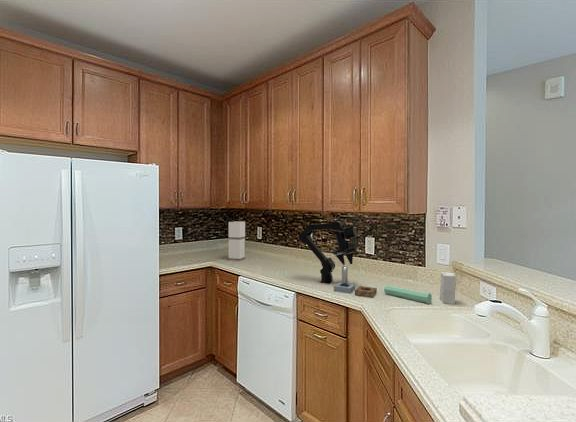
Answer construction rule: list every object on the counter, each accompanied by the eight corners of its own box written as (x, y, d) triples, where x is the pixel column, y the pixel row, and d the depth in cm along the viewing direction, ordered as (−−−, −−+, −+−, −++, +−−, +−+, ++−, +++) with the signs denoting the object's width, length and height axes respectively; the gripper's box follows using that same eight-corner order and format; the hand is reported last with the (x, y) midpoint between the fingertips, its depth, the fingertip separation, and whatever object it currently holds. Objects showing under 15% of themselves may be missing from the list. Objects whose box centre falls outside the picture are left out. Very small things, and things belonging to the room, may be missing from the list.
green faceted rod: (383, 283, 171) (428, 291, 153) (388, 285, 175) (432, 294, 157) (381, 293, 170) (426, 303, 152) (386, 295, 174) (430, 305, 156)
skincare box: (439, 298, 163) (440, 271, 162) (451, 299, 161) (452, 272, 161) (442, 303, 155) (443, 274, 154) (455, 304, 153) (456, 275, 153)
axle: (340, 290, 177) (340, 266, 177) (343, 289, 180) (343, 266, 180) (345, 291, 175) (346, 267, 175) (348, 290, 178) (348, 266, 178)
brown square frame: (354, 295, 168) (354, 290, 168) (359, 290, 177) (359, 285, 177) (372, 297, 163) (372, 292, 163) (376, 293, 172) (376, 288, 172)
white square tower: (245, 259, 278) (245, 221, 278) (239, 261, 268) (239, 222, 267) (234, 258, 282) (234, 221, 281) (228, 260, 272) (228, 221, 271)
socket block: (333, 291, 176) (333, 286, 176) (339, 287, 184) (339, 282, 184) (350, 293, 171) (350, 288, 171) (355, 289, 180) (355, 284, 180)
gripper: (359, 236, 185) (366, 260, 183) (344, 239, 202) (350, 262, 200) (344, 239, 180) (351, 265, 179) (330, 242, 198) (336, 266, 196)
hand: (347, 264), depth 188 cm, fingers open, 9 cm apart
